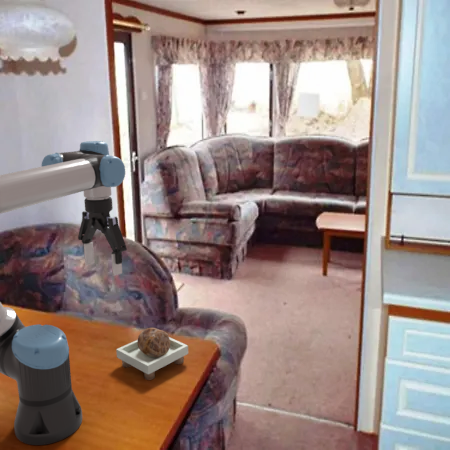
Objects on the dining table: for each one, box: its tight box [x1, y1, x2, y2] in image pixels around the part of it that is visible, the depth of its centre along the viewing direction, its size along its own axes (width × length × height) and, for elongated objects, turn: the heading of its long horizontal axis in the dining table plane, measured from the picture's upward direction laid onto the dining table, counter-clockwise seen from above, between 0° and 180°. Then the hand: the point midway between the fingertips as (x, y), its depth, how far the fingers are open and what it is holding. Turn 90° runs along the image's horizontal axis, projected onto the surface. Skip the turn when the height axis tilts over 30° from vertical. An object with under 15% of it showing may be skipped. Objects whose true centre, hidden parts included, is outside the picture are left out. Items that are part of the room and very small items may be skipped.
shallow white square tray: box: [115, 336, 189, 381], centre depth 145 cm, size 15×14×5 cm
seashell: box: [137, 327, 170, 357], centre depth 145 cm, size 10×9×10 cm
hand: (103, 269), depth 145 cm, fingers open, 13 cm apart
